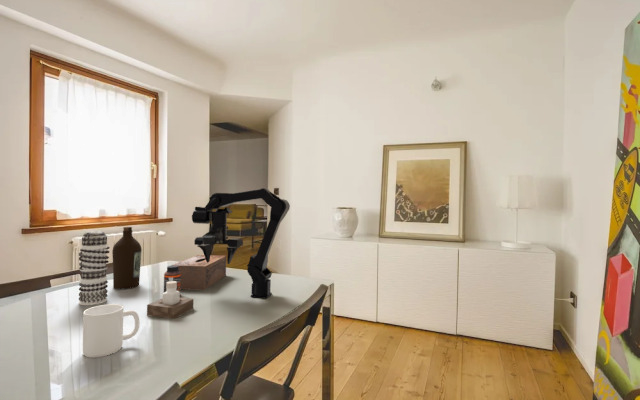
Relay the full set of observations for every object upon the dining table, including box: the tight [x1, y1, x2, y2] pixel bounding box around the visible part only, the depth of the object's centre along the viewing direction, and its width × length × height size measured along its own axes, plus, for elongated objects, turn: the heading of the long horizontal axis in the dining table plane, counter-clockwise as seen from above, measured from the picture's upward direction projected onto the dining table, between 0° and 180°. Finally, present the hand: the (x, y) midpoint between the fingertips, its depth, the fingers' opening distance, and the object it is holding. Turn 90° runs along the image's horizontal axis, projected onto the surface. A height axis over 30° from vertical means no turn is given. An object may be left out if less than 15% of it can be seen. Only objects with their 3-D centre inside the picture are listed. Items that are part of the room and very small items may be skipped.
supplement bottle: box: [163, 264, 181, 293], centre depth 128 cm, size 6×6×11 cm
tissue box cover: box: [172, 254, 227, 291], centre depth 150 cm, size 26×14×10 cm, turn 177°
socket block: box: [146, 296, 194, 319], centre depth 110 cm, size 10×10×4 cm
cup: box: [82, 303, 140, 359], centre depth 83 cm, size 8×12×10 cm
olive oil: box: [112, 226, 142, 290], centre depth 139 cm, size 11×11×25 cm
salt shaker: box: [162, 281, 181, 305], centre depth 110 cm, size 4×4×10 cm
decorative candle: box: [78, 230, 110, 306], centre depth 119 cm, size 9×9×25 cm
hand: (218, 263), depth 133 cm, fingers open, 9 cm apart
